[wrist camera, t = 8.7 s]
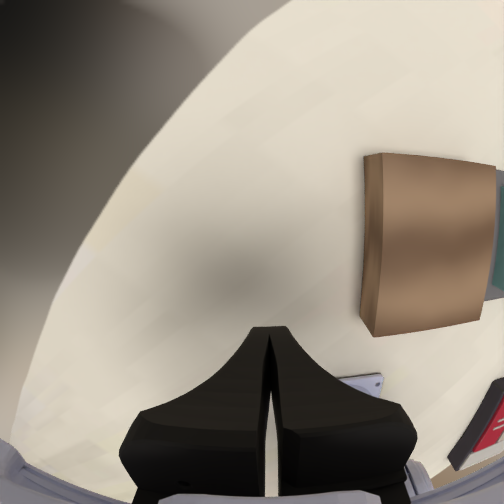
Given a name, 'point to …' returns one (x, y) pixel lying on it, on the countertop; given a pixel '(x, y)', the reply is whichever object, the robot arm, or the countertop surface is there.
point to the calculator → (482, 431)
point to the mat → (495, 242)
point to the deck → (425, 242)
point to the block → (500, 250)
